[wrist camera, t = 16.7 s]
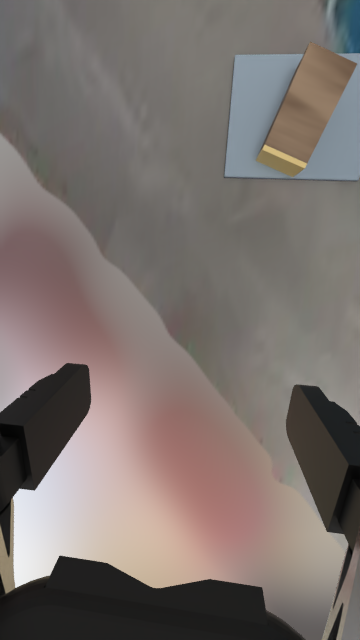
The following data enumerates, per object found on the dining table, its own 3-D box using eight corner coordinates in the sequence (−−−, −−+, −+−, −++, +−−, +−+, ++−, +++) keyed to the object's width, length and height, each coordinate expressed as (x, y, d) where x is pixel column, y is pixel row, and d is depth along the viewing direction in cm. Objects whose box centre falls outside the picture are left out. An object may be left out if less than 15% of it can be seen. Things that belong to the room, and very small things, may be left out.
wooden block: (337, 87, 28) (292, 177, 31) (296, 68, 28) (255, 160, 31) (357, 63, 24) (304, 168, 27) (310, 41, 24) (262, 149, 27)
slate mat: (384, 57, 27) (388, 53, 27) (355, 181, 31) (358, 180, 30) (234, 58, 29) (235, 54, 28) (224, 177, 32) (224, 176, 32)
